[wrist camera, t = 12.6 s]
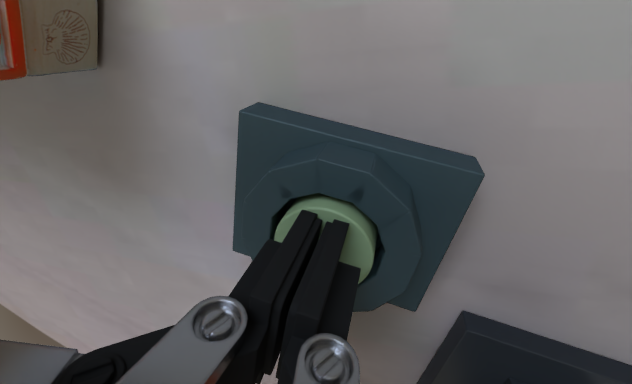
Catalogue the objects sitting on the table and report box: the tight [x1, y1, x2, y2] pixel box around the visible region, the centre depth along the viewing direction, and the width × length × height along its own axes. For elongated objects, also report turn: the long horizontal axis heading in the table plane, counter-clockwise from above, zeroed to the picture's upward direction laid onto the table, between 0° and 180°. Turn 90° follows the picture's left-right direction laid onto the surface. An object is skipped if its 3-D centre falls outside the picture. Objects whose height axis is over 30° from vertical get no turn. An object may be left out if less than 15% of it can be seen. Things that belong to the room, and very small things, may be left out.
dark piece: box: [233, 102, 485, 312], centre depth 12 cm, size 9×7×4 cm
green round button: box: [274, 193, 378, 284], centre depth 11 cm, size 4×4×2 cm
